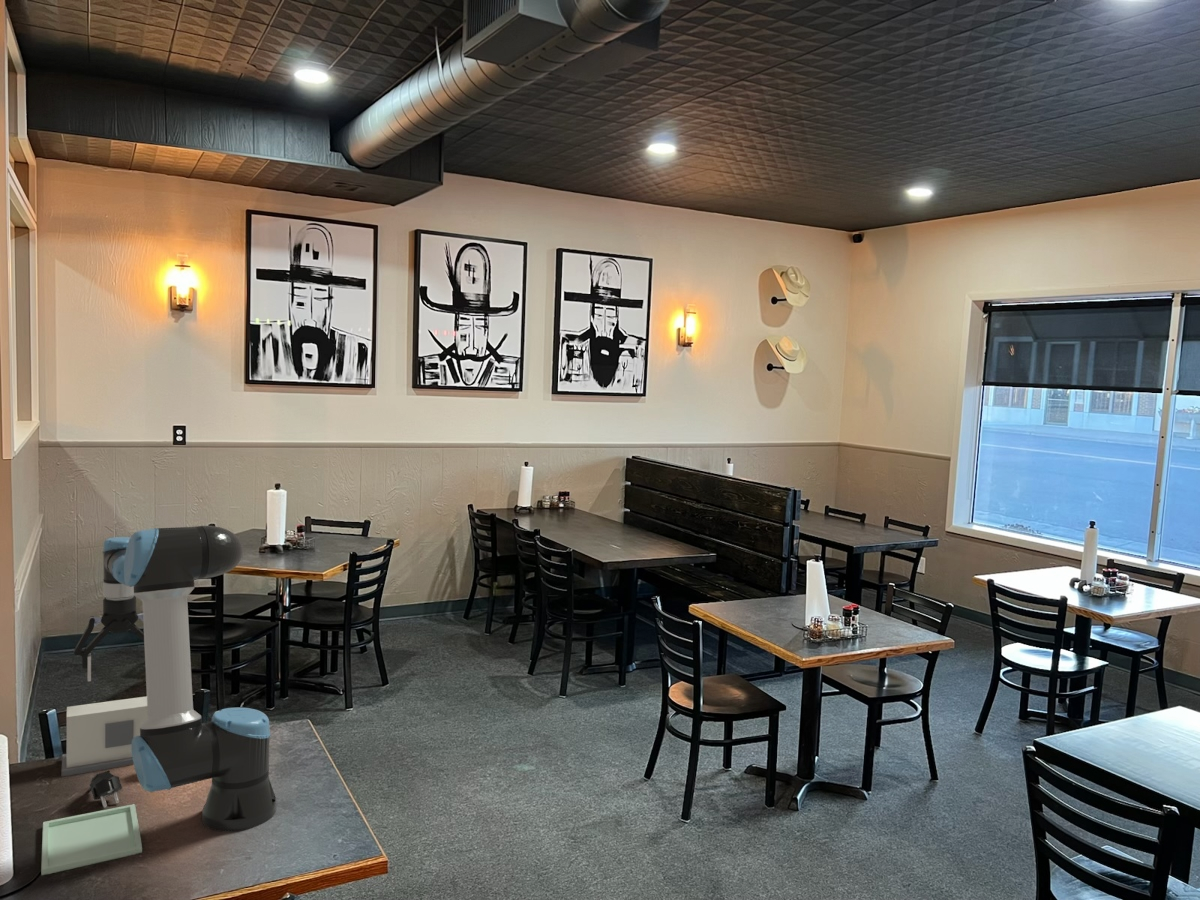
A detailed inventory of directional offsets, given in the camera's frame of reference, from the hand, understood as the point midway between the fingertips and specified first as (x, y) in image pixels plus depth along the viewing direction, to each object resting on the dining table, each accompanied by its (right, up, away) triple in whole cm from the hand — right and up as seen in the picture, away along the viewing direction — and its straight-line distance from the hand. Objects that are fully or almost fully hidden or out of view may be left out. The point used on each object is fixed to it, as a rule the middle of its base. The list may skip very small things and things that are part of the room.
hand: (119, 676), depth 223 cm
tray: (+21, -21, -48) cm, 56 cm away
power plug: (+10, -22, -28) cm, 37 cm away
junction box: (+6, -18, -11) cm, 22 cm away
